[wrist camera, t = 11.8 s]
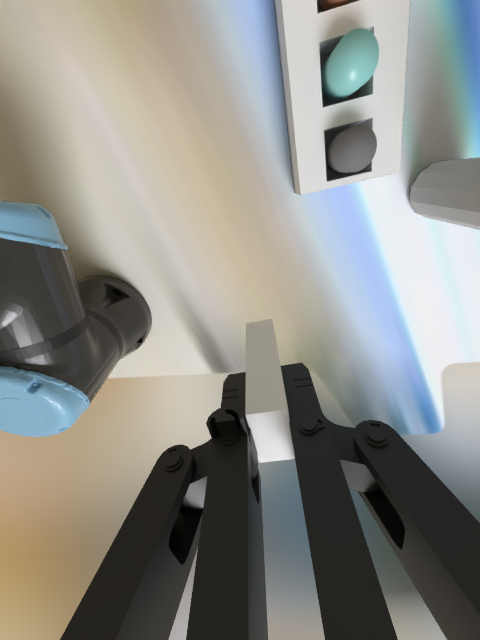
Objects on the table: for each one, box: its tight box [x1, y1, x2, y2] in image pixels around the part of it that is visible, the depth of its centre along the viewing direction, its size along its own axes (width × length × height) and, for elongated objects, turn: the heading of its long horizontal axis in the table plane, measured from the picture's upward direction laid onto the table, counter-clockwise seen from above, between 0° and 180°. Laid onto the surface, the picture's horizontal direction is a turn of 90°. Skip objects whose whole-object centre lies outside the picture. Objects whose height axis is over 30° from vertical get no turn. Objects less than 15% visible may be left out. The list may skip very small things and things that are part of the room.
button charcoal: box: [325, 125, 377, 173], centre depth 31 cm, size 4×4×5 cm
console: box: [274, 0, 410, 195], centre depth 30 cm, size 12×22×5 cm, turn 12°
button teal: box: [321, 28, 379, 101], centre depth 28 cm, size 4×4×5 cm
